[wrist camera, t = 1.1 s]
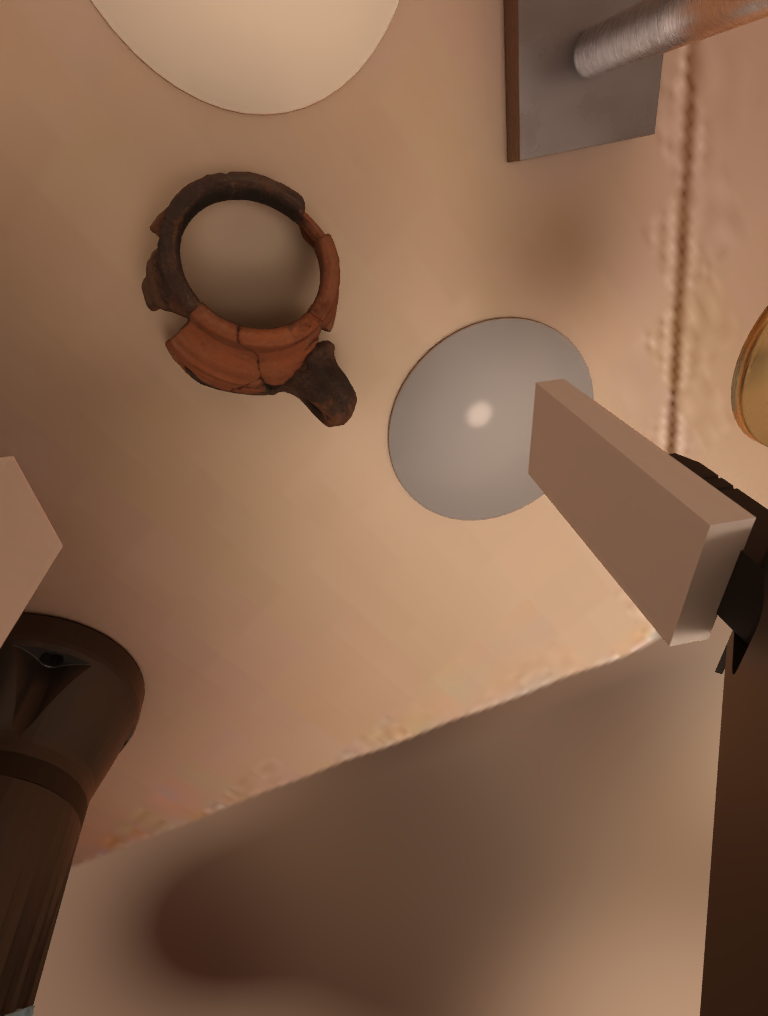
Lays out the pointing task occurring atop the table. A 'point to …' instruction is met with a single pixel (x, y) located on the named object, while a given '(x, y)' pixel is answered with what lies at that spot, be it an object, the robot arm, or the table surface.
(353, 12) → the cream plate
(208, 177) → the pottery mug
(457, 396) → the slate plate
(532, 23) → the balance
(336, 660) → the table surface
